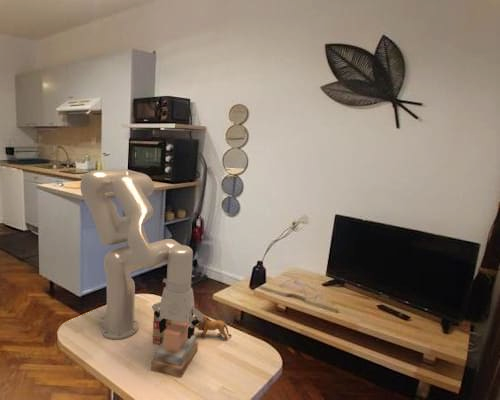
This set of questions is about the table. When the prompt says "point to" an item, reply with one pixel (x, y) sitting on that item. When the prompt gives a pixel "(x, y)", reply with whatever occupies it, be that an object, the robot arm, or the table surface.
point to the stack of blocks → (157, 335)
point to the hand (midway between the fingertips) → (176, 333)
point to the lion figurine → (211, 326)
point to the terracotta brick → (175, 336)
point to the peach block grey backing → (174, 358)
